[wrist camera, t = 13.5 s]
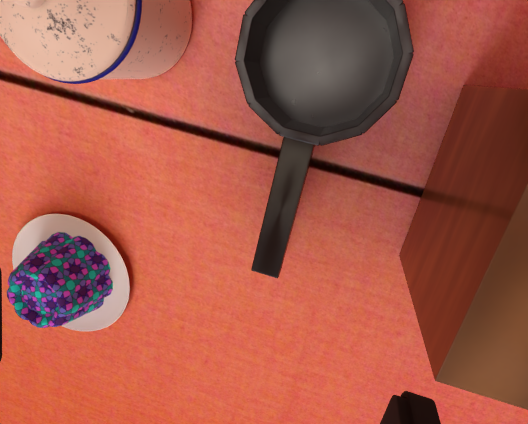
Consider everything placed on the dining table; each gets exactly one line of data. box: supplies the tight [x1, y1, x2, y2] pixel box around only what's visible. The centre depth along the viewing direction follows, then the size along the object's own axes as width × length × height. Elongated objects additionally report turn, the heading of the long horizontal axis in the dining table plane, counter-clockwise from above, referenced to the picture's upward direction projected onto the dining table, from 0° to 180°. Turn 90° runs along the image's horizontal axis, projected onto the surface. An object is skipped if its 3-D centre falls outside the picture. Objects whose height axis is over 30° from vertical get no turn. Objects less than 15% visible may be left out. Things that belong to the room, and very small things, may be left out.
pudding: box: [7, 214, 130, 331], centre depth 36 cm, size 12×12×5 cm
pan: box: [235, 0, 414, 278], centre depth 28 cm, size 20×10×5 cm, turn 167°
